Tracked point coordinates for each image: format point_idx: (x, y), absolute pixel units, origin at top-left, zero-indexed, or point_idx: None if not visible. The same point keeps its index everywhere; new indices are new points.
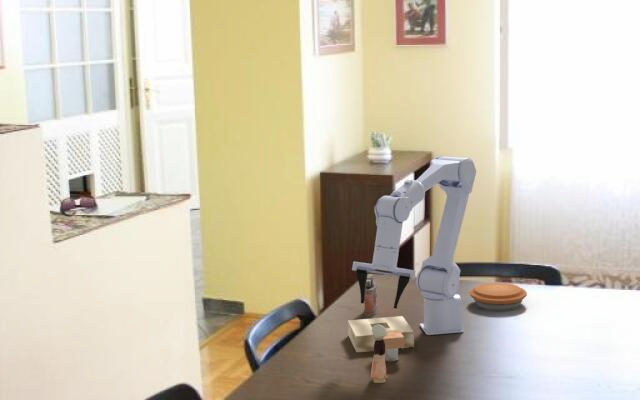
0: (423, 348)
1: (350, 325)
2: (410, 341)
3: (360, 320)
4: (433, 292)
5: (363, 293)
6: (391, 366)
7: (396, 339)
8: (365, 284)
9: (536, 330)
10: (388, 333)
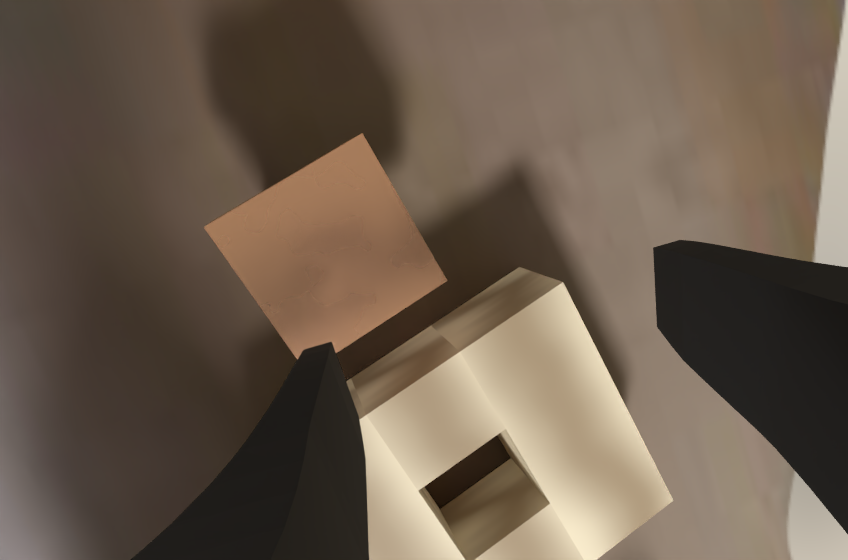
0: (194, 450)
1: (640, 437)
2: None
3: (612, 529)
4: None
5: (746, 264)
6: (271, 125)
7: (258, 194)
8: (838, 363)
9: None
10: (350, 268)
